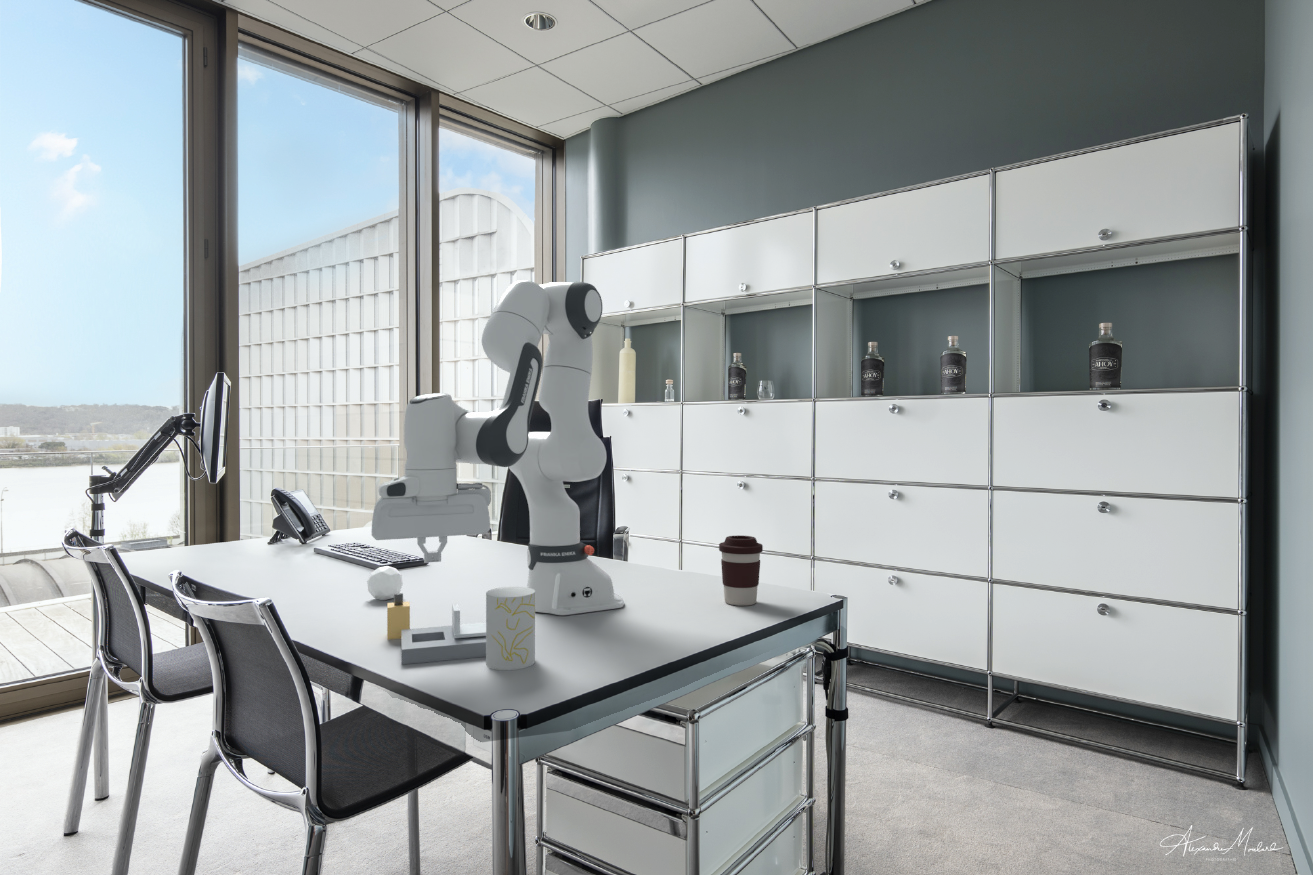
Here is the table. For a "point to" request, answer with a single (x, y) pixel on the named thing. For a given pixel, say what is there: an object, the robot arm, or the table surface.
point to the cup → (510, 628)
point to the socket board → (439, 645)
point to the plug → (397, 617)
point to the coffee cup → (740, 569)
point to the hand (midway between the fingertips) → (432, 561)
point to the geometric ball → (384, 583)
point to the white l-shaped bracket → (465, 626)
